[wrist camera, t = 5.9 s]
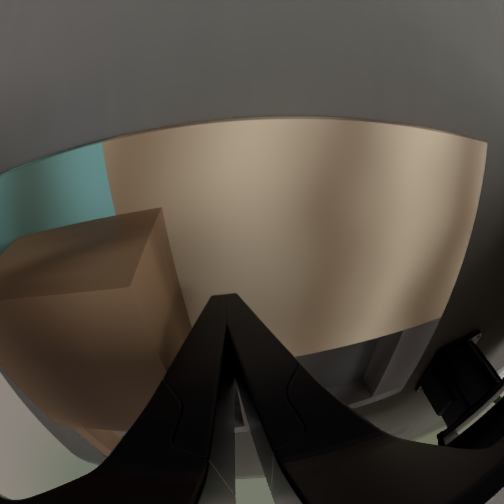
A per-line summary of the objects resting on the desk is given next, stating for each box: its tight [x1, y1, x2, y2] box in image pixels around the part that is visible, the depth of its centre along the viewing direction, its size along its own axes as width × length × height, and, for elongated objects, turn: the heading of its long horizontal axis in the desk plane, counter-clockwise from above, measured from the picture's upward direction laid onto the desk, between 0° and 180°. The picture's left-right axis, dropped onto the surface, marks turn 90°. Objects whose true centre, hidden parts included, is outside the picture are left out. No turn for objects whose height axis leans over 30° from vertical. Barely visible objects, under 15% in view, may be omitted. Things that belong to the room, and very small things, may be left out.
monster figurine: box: [493, 367, 504, 404], centre depth 30 cm, size 12×12×10 cm
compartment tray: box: [0, 116, 487, 457], centre depth 12 cm, size 22×18×4 cm
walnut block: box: [0, 207, 192, 432], centre depth 7 cm, size 6×6×4 cm
